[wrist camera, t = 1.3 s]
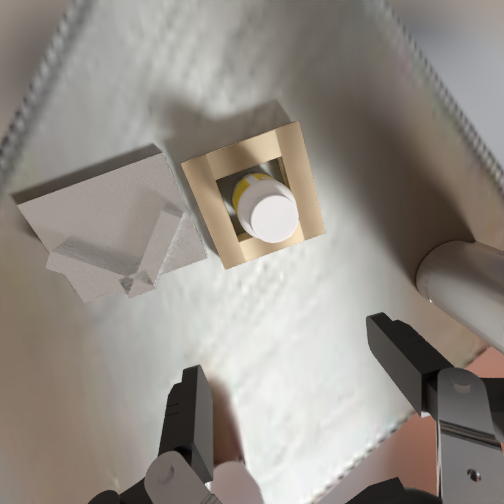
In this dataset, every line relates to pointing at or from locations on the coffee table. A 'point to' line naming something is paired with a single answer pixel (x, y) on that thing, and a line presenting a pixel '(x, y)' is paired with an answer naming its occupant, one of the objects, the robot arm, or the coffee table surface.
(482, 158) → the coffee table surface
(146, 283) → the v block
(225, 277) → the coffee table surface
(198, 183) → the square frame block
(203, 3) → the coffee table surface
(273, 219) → the supplement bottle
